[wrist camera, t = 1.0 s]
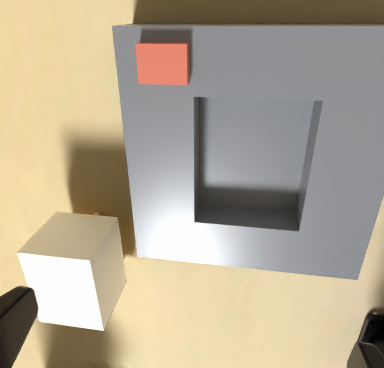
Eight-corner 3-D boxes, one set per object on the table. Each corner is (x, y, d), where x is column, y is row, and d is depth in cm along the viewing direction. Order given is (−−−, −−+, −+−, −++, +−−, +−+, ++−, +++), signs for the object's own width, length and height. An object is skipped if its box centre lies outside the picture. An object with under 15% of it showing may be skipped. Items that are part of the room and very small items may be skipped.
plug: (132, 268, 27) (103, 330, 22) (80, 262, 27) (39, 321, 22) (125, 205, 24) (89, 260, 19) (66, 200, 25) (16, 252, 19)
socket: (345, 248, 23) (360, 288, 19) (149, 230, 25) (133, 263, 21) (406, 23, 16) (444, 26, 13) (132, 23, 18) (106, 26, 15)
